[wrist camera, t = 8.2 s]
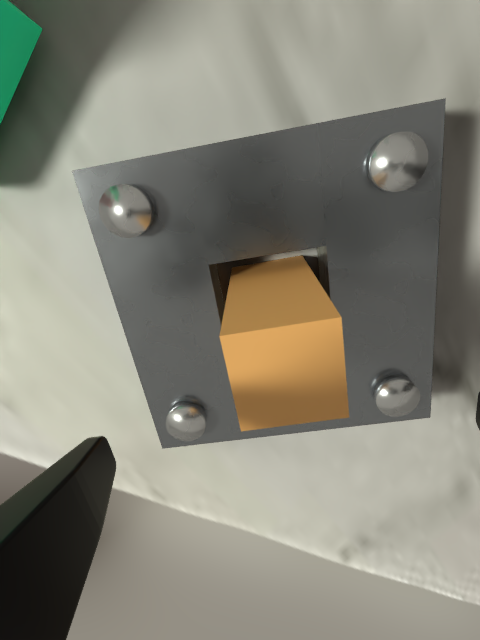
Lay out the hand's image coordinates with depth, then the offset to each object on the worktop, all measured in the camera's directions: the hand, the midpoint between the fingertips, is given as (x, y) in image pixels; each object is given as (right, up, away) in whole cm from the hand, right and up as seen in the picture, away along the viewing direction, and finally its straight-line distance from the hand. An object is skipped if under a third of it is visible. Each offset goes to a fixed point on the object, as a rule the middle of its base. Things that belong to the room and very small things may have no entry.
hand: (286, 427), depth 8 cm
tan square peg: (+1, +4, +10) cm, 10 cm away
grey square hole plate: (0, +4, +9) cm, 10 cm away
